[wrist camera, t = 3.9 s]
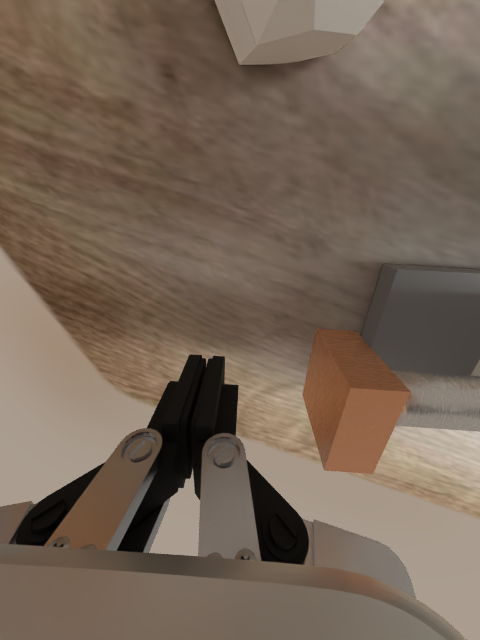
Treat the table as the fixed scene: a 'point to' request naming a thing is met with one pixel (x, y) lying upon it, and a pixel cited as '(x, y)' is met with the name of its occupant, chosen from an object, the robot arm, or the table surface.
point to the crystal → (292, 27)
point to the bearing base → (426, 319)
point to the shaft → (376, 401)
